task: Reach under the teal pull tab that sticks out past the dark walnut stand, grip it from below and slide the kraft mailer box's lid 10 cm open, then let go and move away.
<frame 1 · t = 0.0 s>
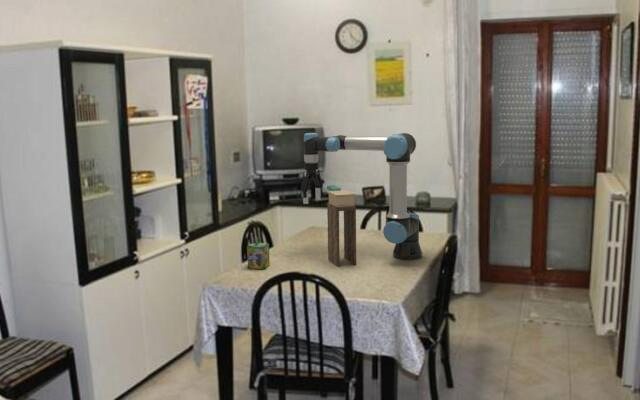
hand: (312, 201, 338), 28 cm above the table, tool pointing down, fingers open, 13 cm apart
walnut stand: (342, 262, 322), on the table
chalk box: (259, 267, 316), on the table
mailer lid: (337, 190, 321), point 36 cm above the table, slide at 0.0 cm
kraft mailer box: (341, 204, 317), resting on walnut stand
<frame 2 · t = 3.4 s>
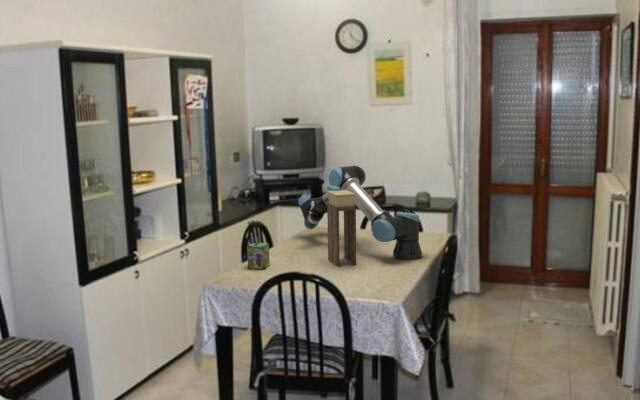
hand: (325, 202, 343), 27 cm above the table, tool pointing upward, fingers open, 13 cm apart
nothing on the table moved.
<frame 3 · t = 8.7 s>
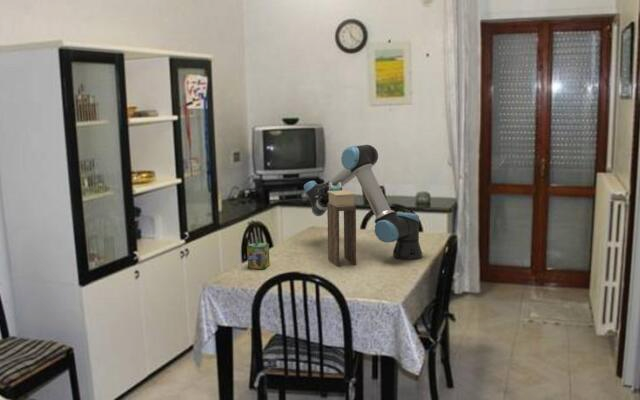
hand: (335, 184, 323), 39 cm above the table, tool pointing upward, fingers closed on mailer lid, 4 cm apart
mailer lid: (337, 190, 321), point 36 cm above the table, slide at 0.0 cm, touching gripper
everything else where it was.
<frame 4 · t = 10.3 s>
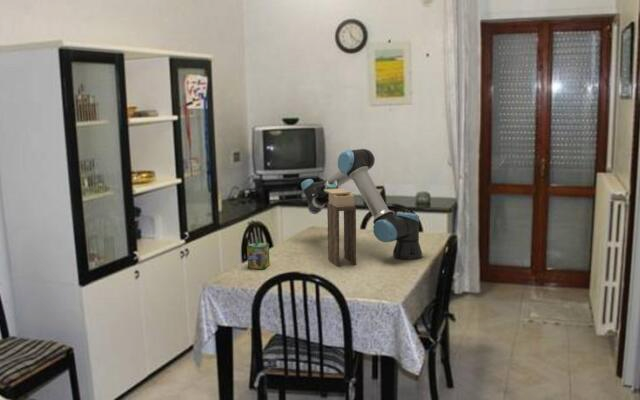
hand: (332, 183, 330), 39 cm above the table, tool pointing upward, fingers closed on mailer lid, 4 cm apart
mailer lid: (333, 189, 327), point 36 cm above the table, slide at 6.4 cm, touching gripper
everything else where it was.
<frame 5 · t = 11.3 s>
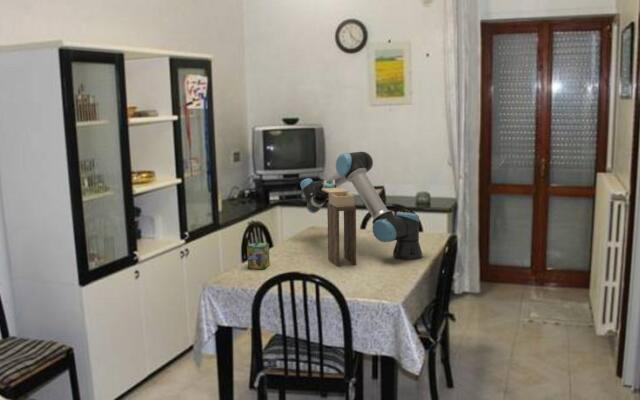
hand: (329, 182, 333), 39 cm above the table, tool pointing upward, fingers closed on mailer lid, 4 cm apart
mailer lid: (331, 188, 330), point 36 cm above the table, slide at 10.0 cm, touching gripper
everything else where it was.
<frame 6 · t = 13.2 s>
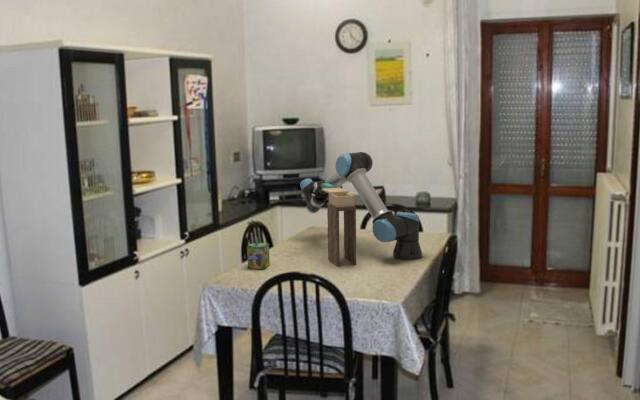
hand: (328, 183, 335), 38 cm above the table, tool pointing upward, fingers open, 13 cm apart
mailer lid: (331, 188, 330), point 36 cm above the table, slide at 10.0 cm
everything else where it was.
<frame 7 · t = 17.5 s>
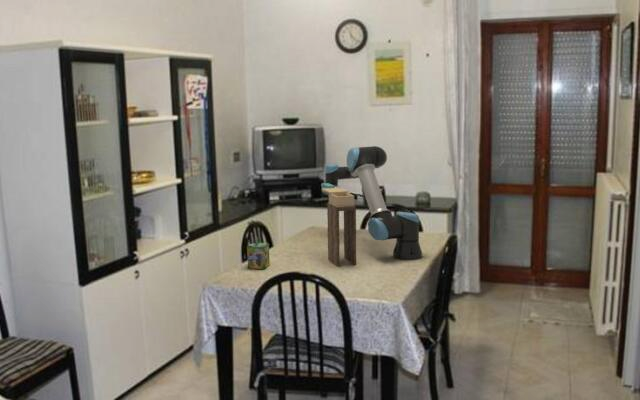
hand: (351, 201, 350), 26 cm above the table, tool horizontal, fingers open, 13 cm apart
nothing on the table moved.
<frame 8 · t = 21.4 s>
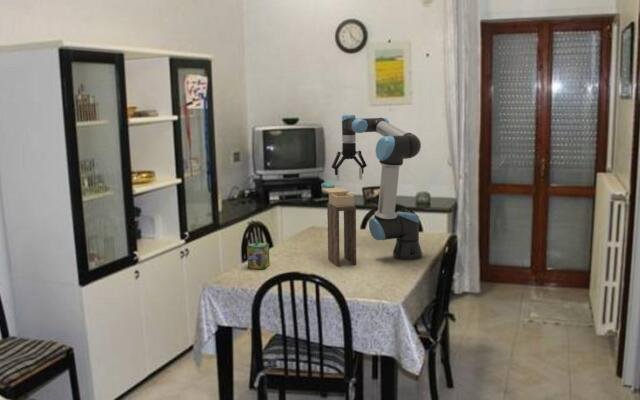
hand: (349, 180, 356), 37 cm above the table, tool pointing down, fingers open, 13 cm apart
nothing on the table moved.
at the end: mailer lid slide at 10.0 cm; the gripper is holding nothing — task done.
